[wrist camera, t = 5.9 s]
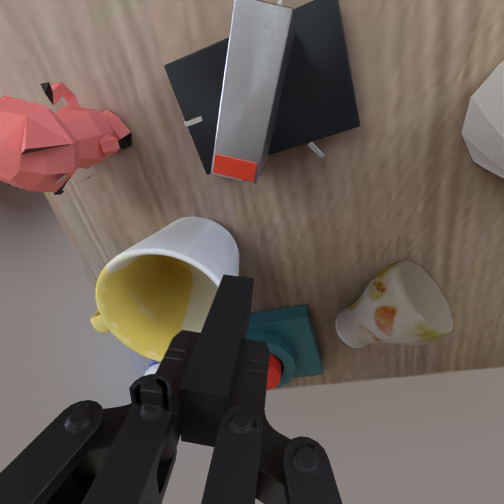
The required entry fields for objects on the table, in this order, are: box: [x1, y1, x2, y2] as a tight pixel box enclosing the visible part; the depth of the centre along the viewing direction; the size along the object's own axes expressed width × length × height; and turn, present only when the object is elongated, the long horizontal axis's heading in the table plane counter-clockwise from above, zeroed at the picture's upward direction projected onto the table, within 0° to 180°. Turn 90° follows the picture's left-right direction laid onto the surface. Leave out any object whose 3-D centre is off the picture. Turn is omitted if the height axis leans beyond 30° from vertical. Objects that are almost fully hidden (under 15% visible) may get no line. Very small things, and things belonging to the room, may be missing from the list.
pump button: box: [266, 353, 281, 390], centre depth 32 cm, size 4×4×2 cm
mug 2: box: [335, 260, 453, 349], centre depth 29 cm, size 8×10×10 cm
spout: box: [211, 0, 295, 184], centre depth 19 cm, size 8×3×8 cm, turn 169°
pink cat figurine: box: [0, 82, 132, 195], centre depth 22 cm, size 7×7×12 cm
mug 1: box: [91, 217, 239, 362], centre depth 27 cm, size 14×10×10 cm
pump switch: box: [246, 304, 323, 388], centre depth 34 cm, size 11×8×4 cm
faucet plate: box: [164, 0, 360, 175], centre depth 23 cm, size 12×11×3 cm
